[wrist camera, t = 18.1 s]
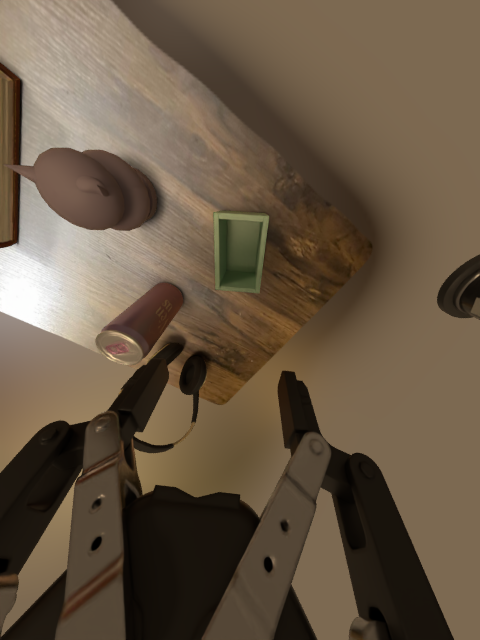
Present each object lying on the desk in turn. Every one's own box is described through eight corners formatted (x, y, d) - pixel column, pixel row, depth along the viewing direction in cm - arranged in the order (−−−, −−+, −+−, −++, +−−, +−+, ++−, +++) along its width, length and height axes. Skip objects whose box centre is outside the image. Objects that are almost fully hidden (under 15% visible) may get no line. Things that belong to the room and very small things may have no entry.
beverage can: (147, 285, 32) (82, 335, 20) (175, 278, 31) (124, 326, 19) (163, 311, 36) (114, 369, 23) (189, 306, 34) (153, 363, 22)
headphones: (200, 376, 46) (170, 471, 30) (150, 346, 41) (81, 441, 25) (219, 360, 43) (198, 459, 26) (167, 326, 38) (99, 421, 21)
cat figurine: (111, 221, 27) (27, 231, 17) (95, 153, 22) (-31, 111, 12) (166, 231, 27) (115, 247, 17) (161, 166, 23) (89, 135, 13)
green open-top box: (259, 293, 23) (269, 216, 18) (215, 290, 23) (213, 212, 18) (257, 273, 30) (265, 213, 25) (223, 271, 30) (223, 210, 25)
